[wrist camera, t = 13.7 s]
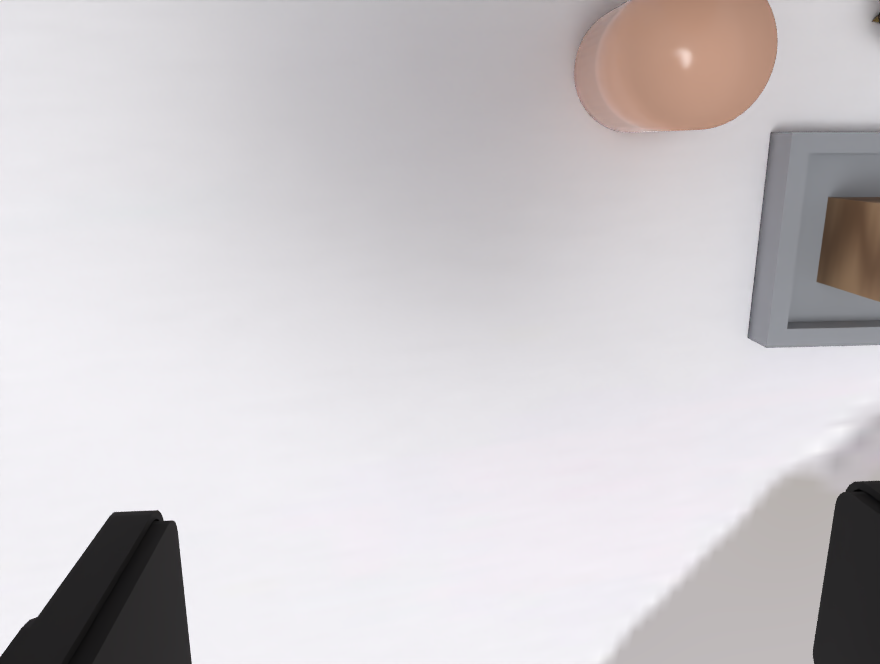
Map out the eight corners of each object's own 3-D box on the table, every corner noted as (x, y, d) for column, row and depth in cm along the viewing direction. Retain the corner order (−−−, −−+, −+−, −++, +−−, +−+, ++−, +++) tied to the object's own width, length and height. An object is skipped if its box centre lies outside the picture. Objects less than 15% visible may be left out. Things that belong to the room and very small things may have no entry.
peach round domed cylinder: (577, 4, 35) (633, -36, 27) (696, 5, 35) (786, -33, 28) (571, 132, 36) (623, 129, 29) (686, 132, 37) (768, 129, 29)
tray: (771, 132, 37) (792, 132, 35) (970, 132, 38) (1001, 132, 36) (747, 337, 40) (766, 347, 38) (933, 333, 41) (961, 342, 39)
